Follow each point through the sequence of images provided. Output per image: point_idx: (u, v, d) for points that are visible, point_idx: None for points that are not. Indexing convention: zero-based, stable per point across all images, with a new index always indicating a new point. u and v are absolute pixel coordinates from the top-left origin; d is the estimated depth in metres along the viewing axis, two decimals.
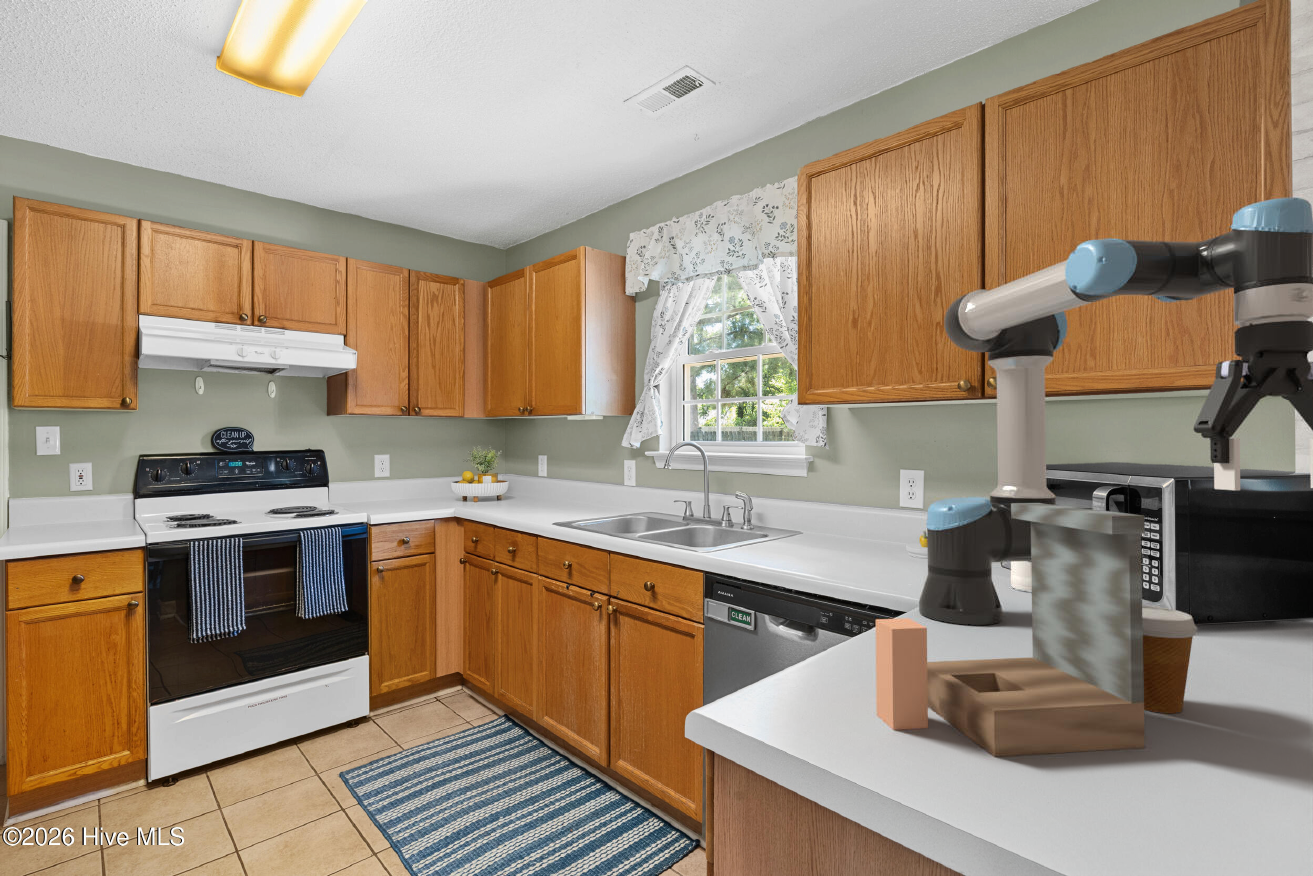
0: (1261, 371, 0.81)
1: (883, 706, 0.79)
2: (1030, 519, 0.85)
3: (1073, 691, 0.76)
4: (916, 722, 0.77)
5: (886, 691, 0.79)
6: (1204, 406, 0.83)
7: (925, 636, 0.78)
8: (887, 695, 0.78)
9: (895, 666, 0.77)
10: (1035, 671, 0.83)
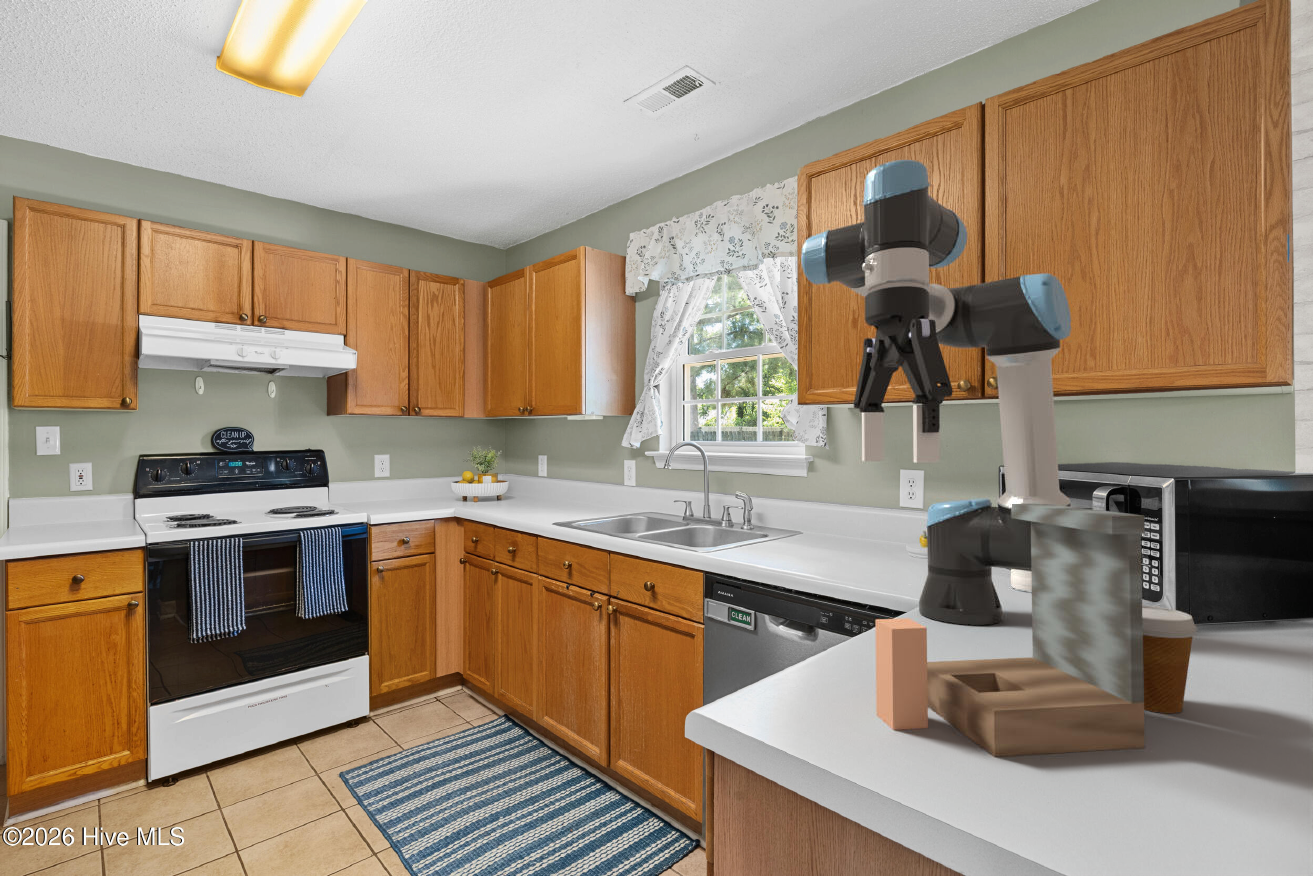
0: None
1: (883, 706, 0.79)
2: (1030, 519, 0.85)
3: (1073, 691, 0.76)
4: (916, 722, 0.77)
5: (886, 691, 0.79)
6: None
7: (925, 636, 0.78)
8: (887, 695, 0.78)
9: (895, 665, 0.77)
10: (1035, 671, 0.83)
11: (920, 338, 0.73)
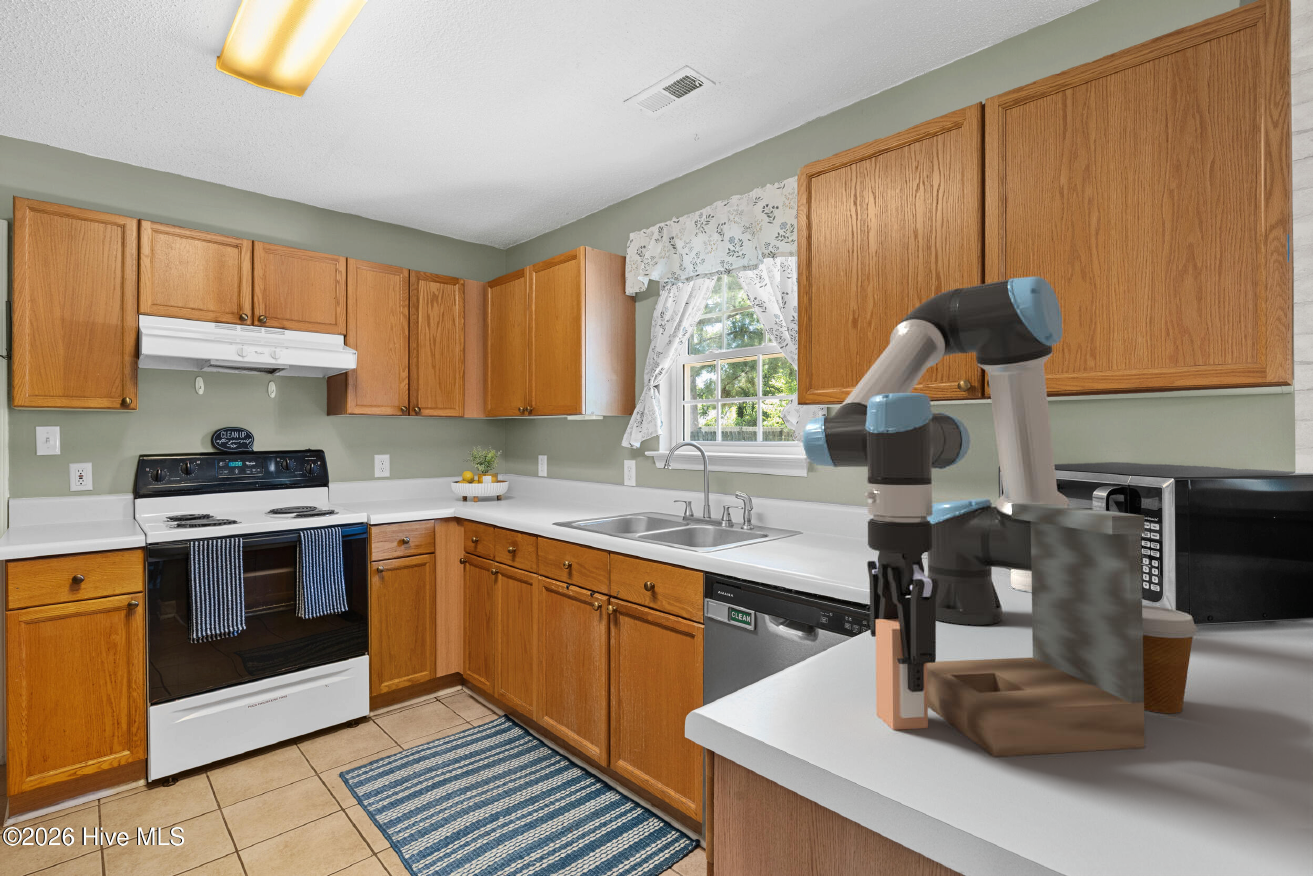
0: None
1: (883, 706, 0.79)
2: (1030, 519, 0.85)
3: (1073, 691, 0.76)
4: (916, 722, 0.77)
5: (886, 691, 0.79)
6: None
7: None
8: (887, 695, 0.78)
9: (895, 665, 0.77)
10: (1035, 671, 0.83)
11: (919, 601, 0.74)
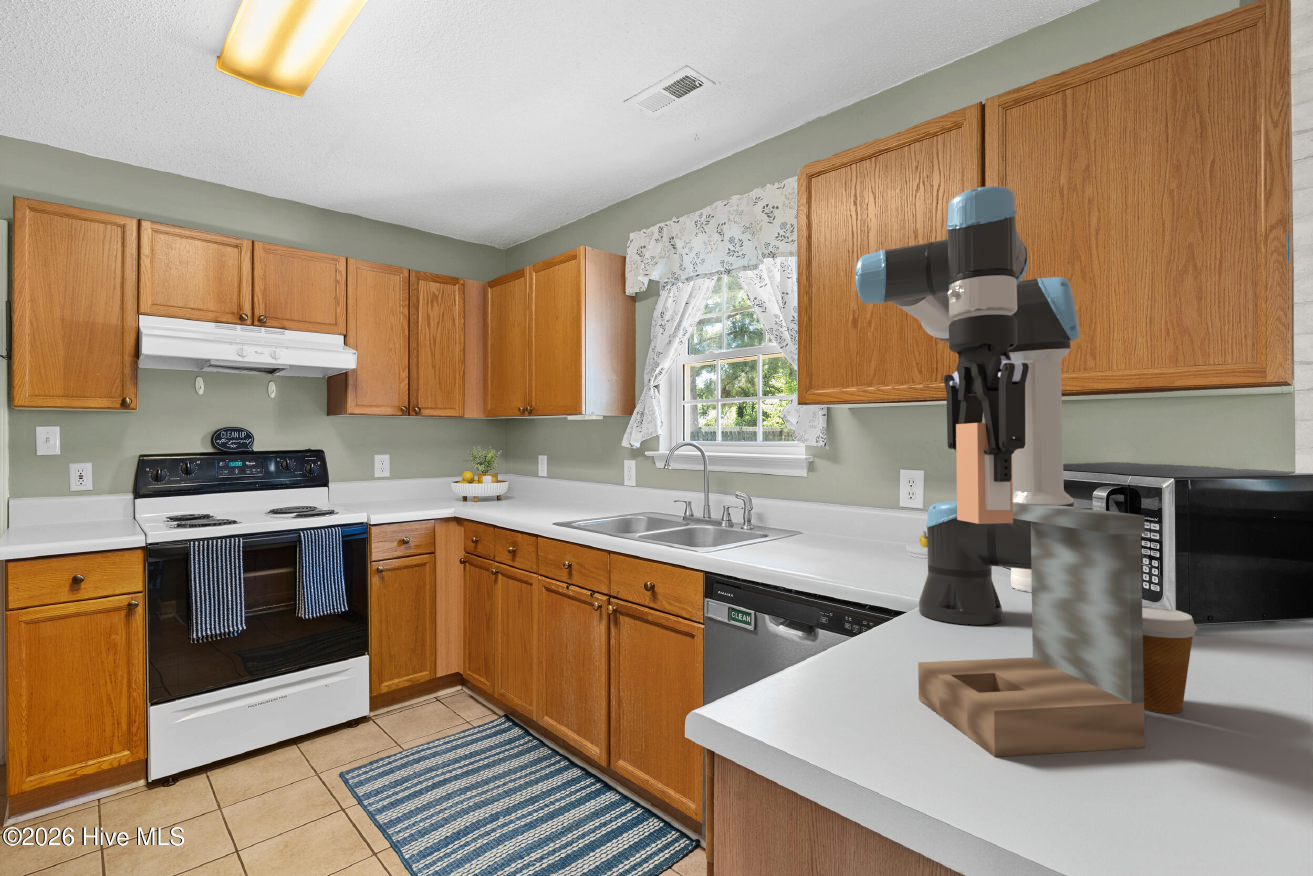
0: None
1: (966, 506, 0.79)
2: (1030, 519, 0.85)
3: (1073, 691, 0.76)
4: (1001, 517, 0.77)
5: (970, 489, 0.78)
6: None
7: None
8: (971, 492, 0.78)
9: (981, 459, 0.77)
10: (1035, 671, 0.83)
11: (1009, 385, 0.73)
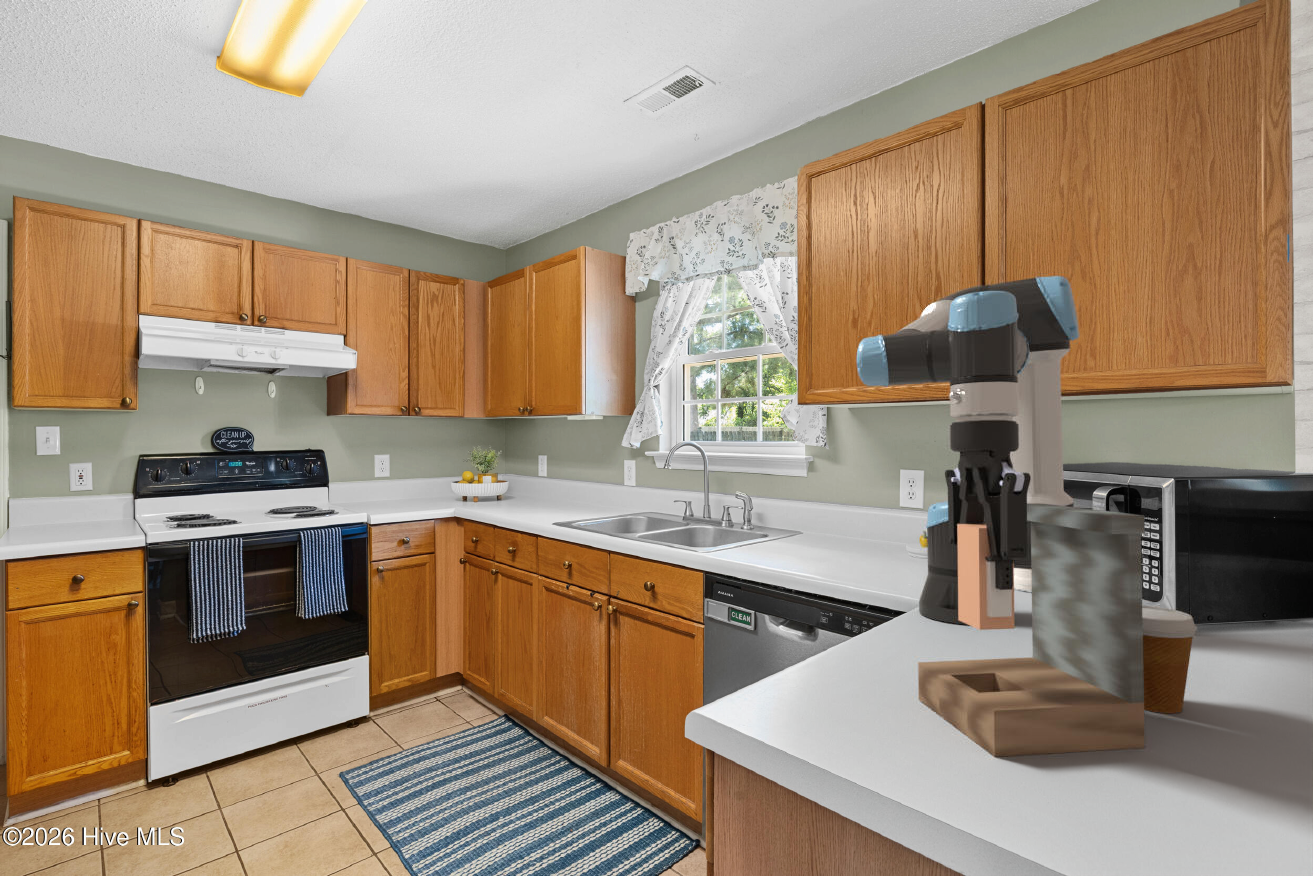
0: None
1: (967, 609, 0.79)
2: (1030, 519, 0.85)
3: (1073, 691, 0.76)
4: (1003, 622, 0.77)
5: (971, 593, 0.78)
6: None
7: None
8: (973, 596, 0.78)
9: (982, 565, 0.77)
10: (1035, 671, 0.83)
11: (1010, 495, 0.73)
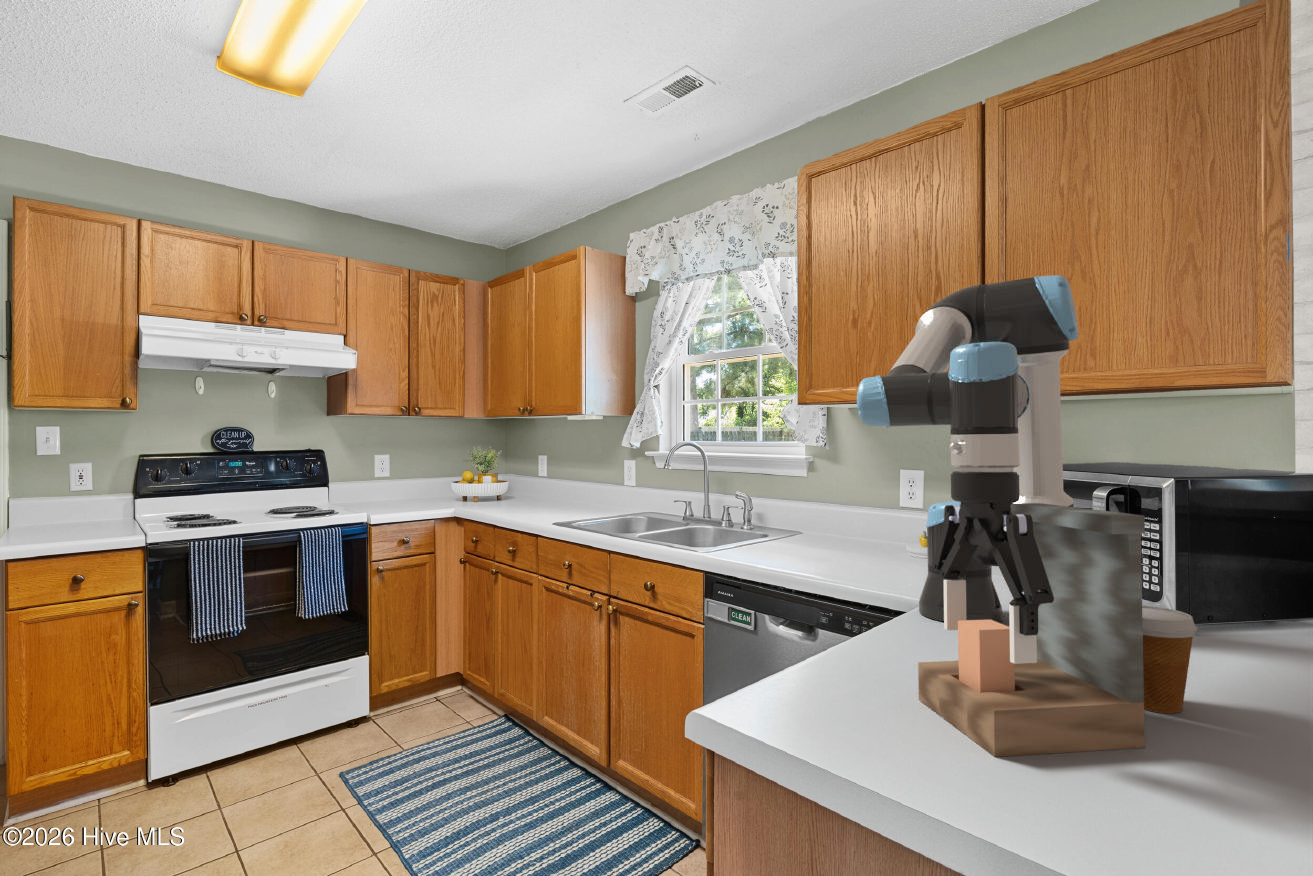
0: None
1: None
2: None
3: (1073, 691, 0.76)
4: None
5: None
6: None
7: None
8: None
9: (983, 667, 0.77)
10: (1035, 671, 0.83)
11: (1017, 536, 0.72)
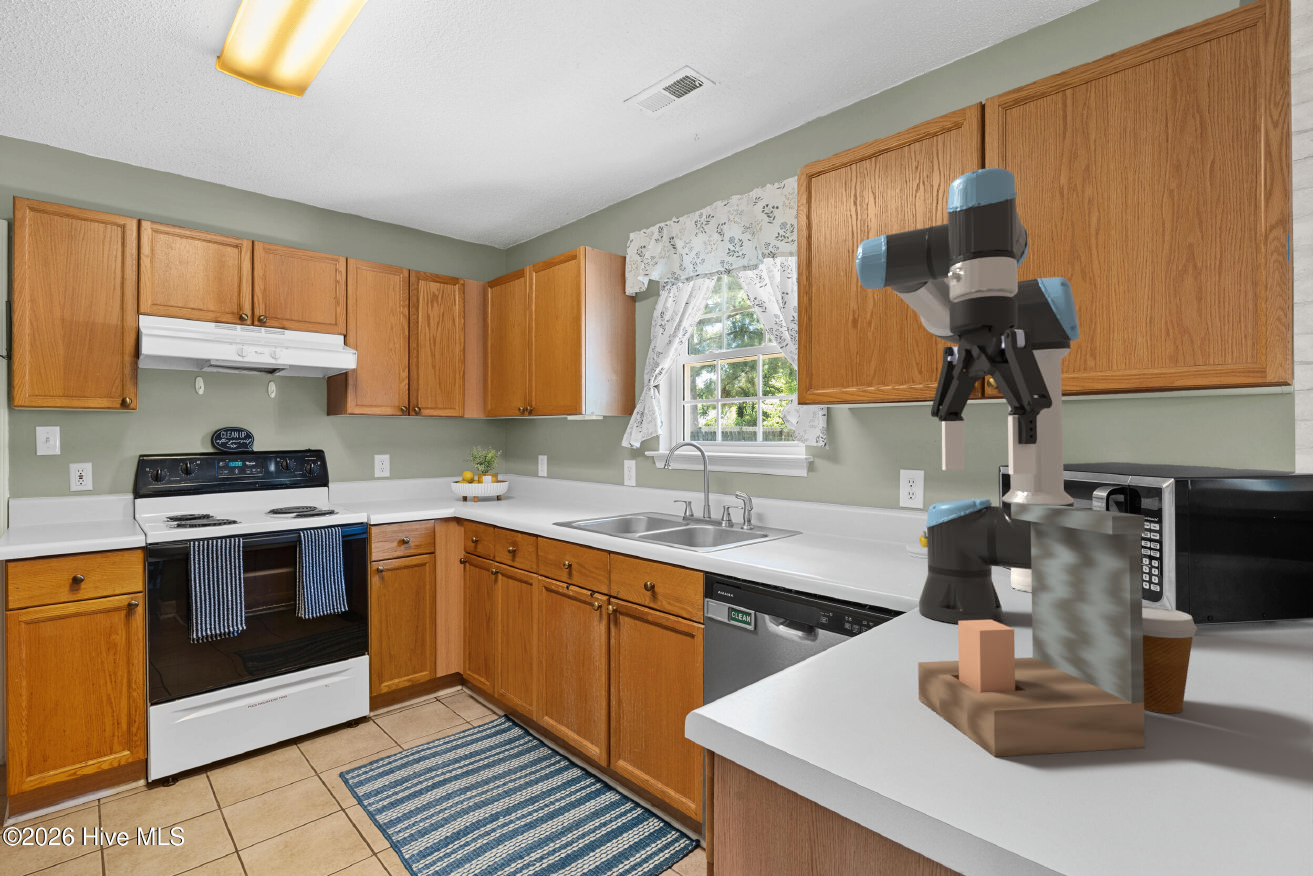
0: None
1: None
2: (1030, 519, 0.85)
3: (1073, 691, 0.76)
4: None
5: None
6: None
7: (1012, 638, 0.77)
8: None
9: (983, 667, 0.76)
10: (1035, 671, 0.83)
11: (1015, 349, 0.72)
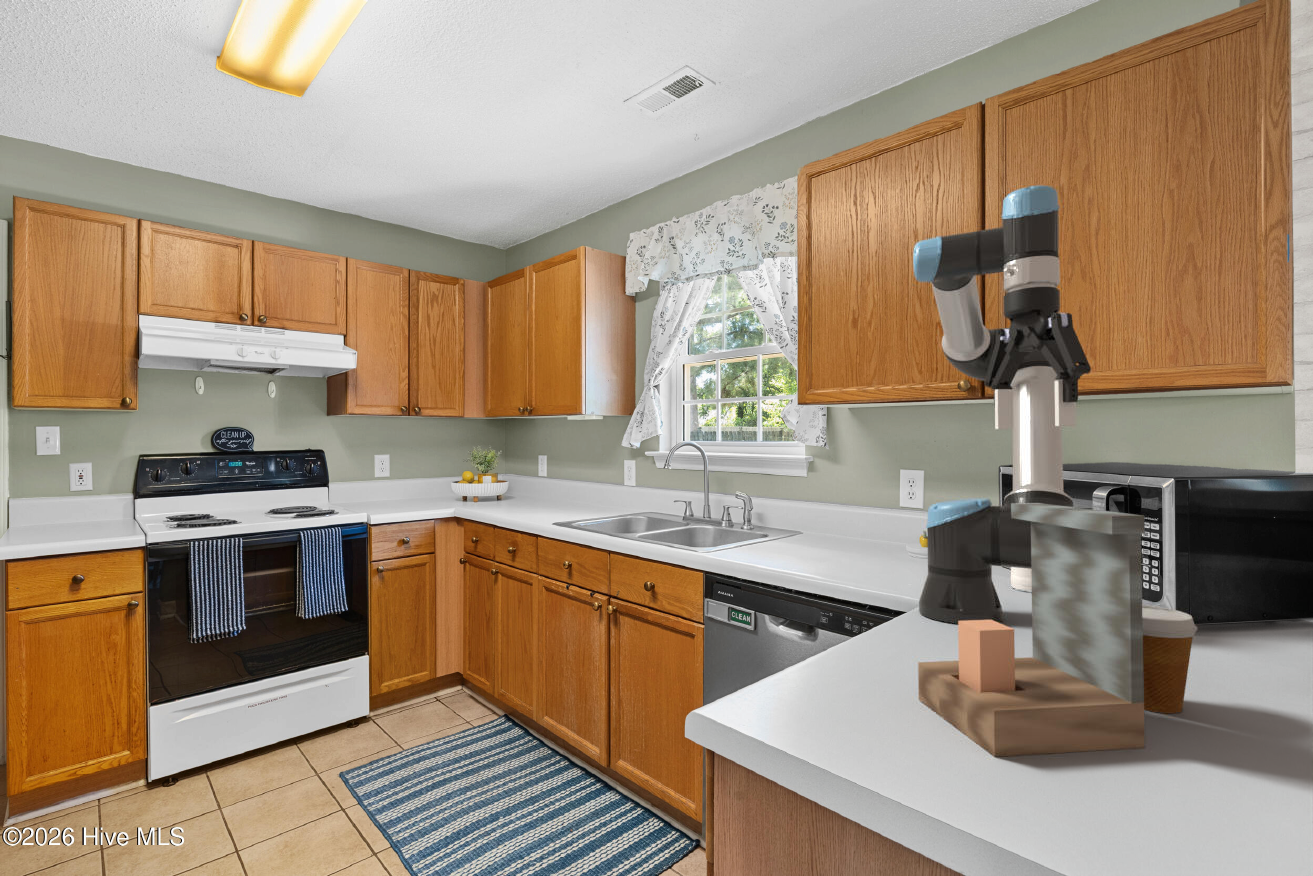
0: None
1: None
2: (1030, 519, 0.85)
3: (1073, 691, 0.76)
4: None
5: None
6: None
7: (1012, 638, 0.77)
8: None
9: (983, 667, 0.76)
10: (1035, 671, 0.83)
11: (1060, 328, 0.93)
